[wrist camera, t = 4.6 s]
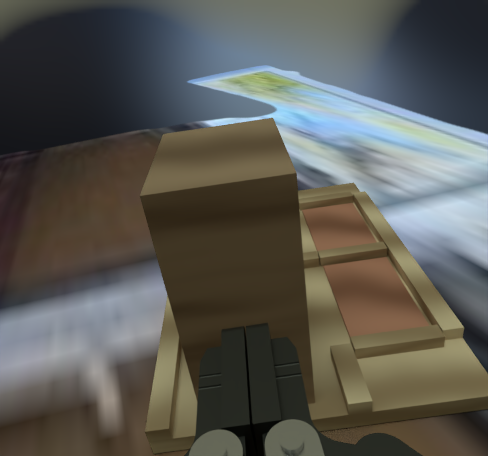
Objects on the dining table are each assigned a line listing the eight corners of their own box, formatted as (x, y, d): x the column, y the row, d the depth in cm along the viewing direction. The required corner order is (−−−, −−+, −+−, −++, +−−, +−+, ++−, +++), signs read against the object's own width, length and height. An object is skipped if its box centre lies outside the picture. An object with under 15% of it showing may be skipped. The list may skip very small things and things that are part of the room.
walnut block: (315, 402, 23) (296, 173, 16) (201, 418, 23) (139, 195, 16) (292, 305, 30) (273, 117, 23) (205, 317, 30) (163, 134, 23)
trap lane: (498, 407, 22) (515, 334, 20) (153, 453, 22) (128, 388, 20) (353, 190, 46) (352, 145, 43) (186, 214, 46) (177, 171, 44)
